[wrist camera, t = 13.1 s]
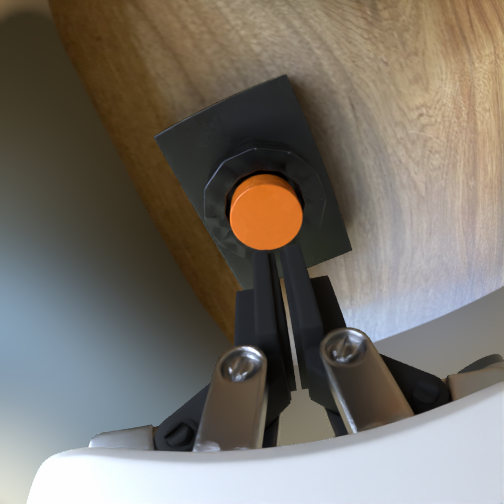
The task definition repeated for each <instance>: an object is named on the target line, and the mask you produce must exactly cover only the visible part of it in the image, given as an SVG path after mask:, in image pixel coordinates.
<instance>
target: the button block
mask: <svg viewBox="0 0 504 504" xmlns="http://www.w3.org/2000/svg"><path fill="white" fill-rule="evenodd" d="M154 138H155V140H156V142H157V144H158V146H159V147H160V149H161V151H162V153H163V154H164V156H165V158H166V160H167V161H168V163H169V165H170V167H171V169H172V170H173V172H174V174H175V176H176V177H177V179H178V181H179V183H180V184H181V186H182V188H183V189H184V191H185V193H186V195H187V196H188V198H189V200H190V202H191V203H192V205H193V207H194V208H195V210H196V212H197V214H198V215H199V217H200V219H201V220H202V222H203V224H204V225H205V227H206V229H207V230H208V232H209V234H210V236H211V237H212V239H213V241H214V242H215V244H216V246H217V247H218V249H219V251H220V252H221V254H222V256H223V257H224V259H225V261H226V262H227V264H228V266H229V267H230V269H231V271H232V272H233V274H234V276H235V277H236V279H237V280H238V282H239V284H240V285H241V287H242V289H243V290H249V289H254V288H253V261H252V252H255V251H260V250H258V249H254V248H251V247H249V246H247V245H245V244H244V243H242V242H241V241H240V240H239V239H238V238H237V237H236V235H235V234H234V232H233V230H232V227H231V224H230V210H231V200H232V196H233V194H234V192H235V190H236V188H237V187H238V186H239V185H240V184H241V183H242V182H243V181H245V180H246V179H248V178H250V177H252V176H255V175H259V174H271V175H275V176H278V177H280V178H282V179H284V180H285V181H287V182H288V183H289V184H290V185H291V186H292V188H293V189H294V191H295V193H296V196H297V198H298V200H299V202H300V205H301V208H302V212H303V220H302V225H301V227H300V230H299V232H298V233H297V235H296V236H295V237H294V238H293V239H292V240H291V241H290V242H289V243H287V244H286V245H284V246H288V245H293V244H300V247H301V250H302V254H303V257H304V260H305V264H306V267H307V268H309V267H312V266H314V265H317V264H319V263H322V262H324V261H327V260H329V259H332V258H334V257H337V256H339V255H342V254H344V253H347V252H349V251H352V247H351V244H350V241H349V237H348V234H347V231H346V228H345V224H344V221H343V218H342V215H341V212H340V209H339V206H338V203H337V200H336V197H335V194H334V191H333V188H332V186H331V183H330V180H329V177H328V174H327V172H326V169H325V166H324V164H323V161H322V158H321V156H320V153H319V150H318V148H317V145H316V143H315V140H314V138H313V135H312V133H311V130H310V128H309V125H308V123H307V120H306V118H305V116H304V113H303V111H302V109H301V106H300V104H299V102H298V99H297V97H296V95H295V93H294V90H293V88H292V86H291V84H290V81H289V79H288V77H287V75H286V74H285V75H280V76H278V77H275V78H273V79H270V80H267V81H265V82H263V83H260V84H258V85H255V86H253V87H250V88H248V89H246V90H243V91H241V92H239V93H237V94H234V95H232V96H230V97H228V98H226V99H223V100H221V101H219V102H217V103H215V104H213V105H211V106H209V107H207V108H205V109H203V110H201V111H199V112H197V113H195V114H193V115H191V116H189V117H187V118H185V119H183V120H181V121H179V122H178V123H176V124H174V125H172V126H170V127H169V128H167V129H165V130H163V131H162V132H160V133H159V134H157V135H155V136H154ZM284 246H282V247H280V248H277V249H272V250H268V253H272V252H274V254H275V259H276V264H277V270H278V275H279V279H281V278H283V271H282V265H281V260H280V254H279V251H283V250H285V248H284Z"/></svg>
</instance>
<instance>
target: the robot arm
mask: <svg viewBox="0 0 504 504" xmlns="http://www.w3.org/2000/svg"><path fill="white" fill-rule="evenodd" d="M284 248H285V250H283V251H279V254H280V260H281V265H282V271H283V277H284V282H285V288H286V294H287V300H288V305H289V311H290V317H291V323H292V329H293V335H294V342H295V348H296V354H297V360H298V367H299V373H300V379H301V386H302V389H307V388H308V389H309V396H310V397H311V400H313V401H315V402H317V403H318V404H320V405H322V408H323V411H324V414H325V417H326V420H327V422H328V425H329V428H330V430H331V433H332V436H333V438H330V439H325V440H319V441H313V442H308V443H301V444H296V445H288V446H280V447H279V445H280V435H281V425H282V411H283V410H284V409H285V408H286V407H287V406H288V405H289V404H290V400H291V392H290V391H296V383H295V375H294V367H293V360H292V353H291V347H290V340H289V333H288V326H287V320H286V313H285V308H284V302H283V297H282V291H281V286H280V280H279V275H278V270H277V264H276V259H275V254H274V252H272V253H268V250H267V249H266V250H260V251H255V252H252V261H253V288H254V289H249V290H243V291H237V292H236V310H235V341H234V347H233V348H230V349H228V350H227V351H225V352H224V353H223V354H222V355H221V356H220V357H219V358H218V360H217V362H216V364H215V367H214V371H213V375H212V379H211V382H210V383H209V384H208V385H207V386H206V387H205V388H203V389H202V390H201V391H200V392H199V393H197V394H196V395H195V396H194V397H193V398H191V399H190V400H189V401H188V402H187V403H185V404H184V405H183V406H182V407H181V408H179V409H178V410H177V411H176V412H174V413H173V414H172V415H171V416H169V417H168V418H167V419H166V420H164V421H163V422H162V423H161V424H160V425H159V426H157V427H153V426H152V425H147V426H141V427H136V428H130V429H123V430H118V431H110V432H103V433H100V434H97V435H95V436H94V437H93V438H92V439H91V440H90V442H89V443H88V447H86V448H78V449H72V450H68V451H64V452H61V453H58V454H56V455H53V456H51V457H50V458H48V459H47V460H46V461H45V462H44V463H43V464H42V465H41V467H40V468H39V470H38V472H37V474H36V477H35V479H34V482H33V485H32V488H31V491H30V494H29V498H28V502H27V504H504V367H493V368H488V369H482V370H477V371H471V372H465V373H459V374H452V375H448V376H447V378H445V379H440V378H438V377H436V376H435V375H432V374H430V373H427V372H424V371H422V370H419V369H417V368H414V367H412V366H409V365H407V364H404V363H402V362H399V361H397V360H394V359H392V358H389V357H387V356H384V355H382V354H380V353H378V351H377V349H376V348H375V346H374V345H373V343H372V341H371V340H370V338H369V337H368V336H367V335H366V334H365V333H364V332H362V331H361V330H359V329H355V328H350V327H346V324H345V321H344V318H343V315H342V312H341V309H340V307H339V304H338V301H337V298H336V295H335V293H334V290H333V287H332V285H331V282H330V279H329V277H328V276H327V275H326V276H321V277H316V278H310V277H309V274H308V270H307V267H306V264H305V260H304V257H303V254H302V250H301V247H300V244H293V245H288V246H284Z"/></svg>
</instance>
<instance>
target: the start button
mask: <svg viewBox="0 0 504 504" xmlns="http://www.w3.org/2000/svg"><path fill="white" fill-rule="evenodd" d="M302 220H303V212H302V208H301V205H300V202H299V200H298V198H297V196H296V193H295V191H294V189H293V188H292V186H291V185H290V184H289V183H288V182H287V181H285V180H284V179H282V178H280V177H278V176H275V175H271V174H259V175H255V176H252V177H250V178H248V179H246V180H245V181H243V182H242V183H241V184H240V185H239V186H238V187H237V188H236V190H235V192H234V194H233V196H232V200H231V210H230V224H231V227H232V230H233V232H234V234H235V235H236V237H237V238H238V239H239V240H240V241H241V242H242V243H244V244H245V245H247V246H249V247H251V248H254V249H258V250H266V249H267V250H272V249H277V248H280V247H282V246H284V245H286V244H287V243H289V242H290V241H291V240H292V239H293V238H294V237H295V236H296V235H297V233H298V232H299V230H300V227H301V225H302Z"/></svg>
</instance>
